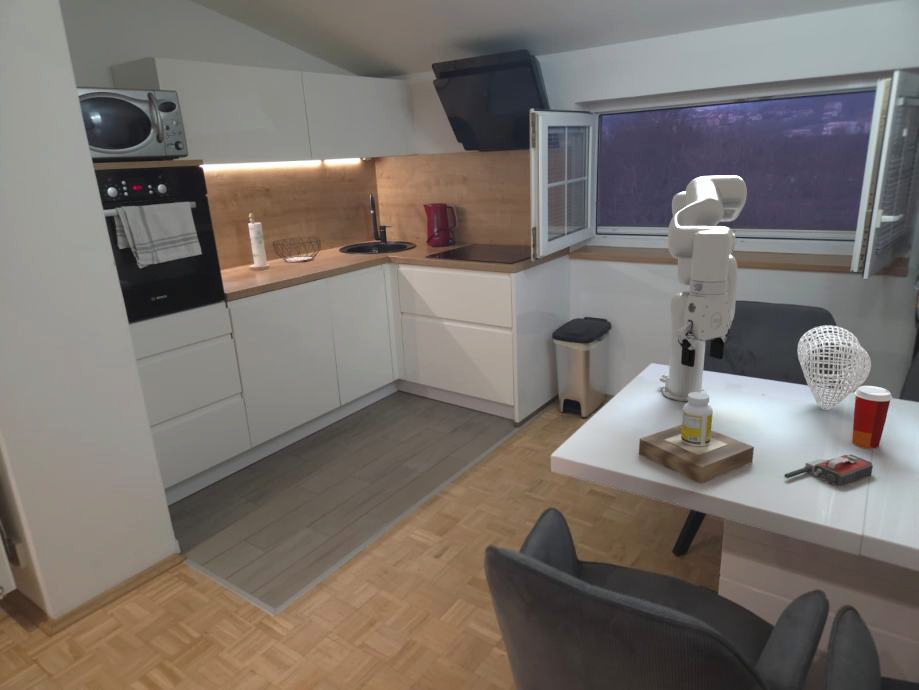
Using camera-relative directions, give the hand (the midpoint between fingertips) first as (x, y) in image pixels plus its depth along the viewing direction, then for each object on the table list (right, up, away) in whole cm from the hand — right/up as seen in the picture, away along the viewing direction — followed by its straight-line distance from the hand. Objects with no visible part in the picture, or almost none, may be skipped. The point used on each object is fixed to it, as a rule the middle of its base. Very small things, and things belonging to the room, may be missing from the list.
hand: (702, 361), depth 144 cm
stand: (+1, -23, +7) cm, 24 cm away
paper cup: (+44, -21, +11) cm, 50 cm away
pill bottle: (+1, -19, +6) cm, 20 cm away
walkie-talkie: (+27, -26, -4) cm, 37 cm away
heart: (+47, -14, +33) cm, 59 cm away
